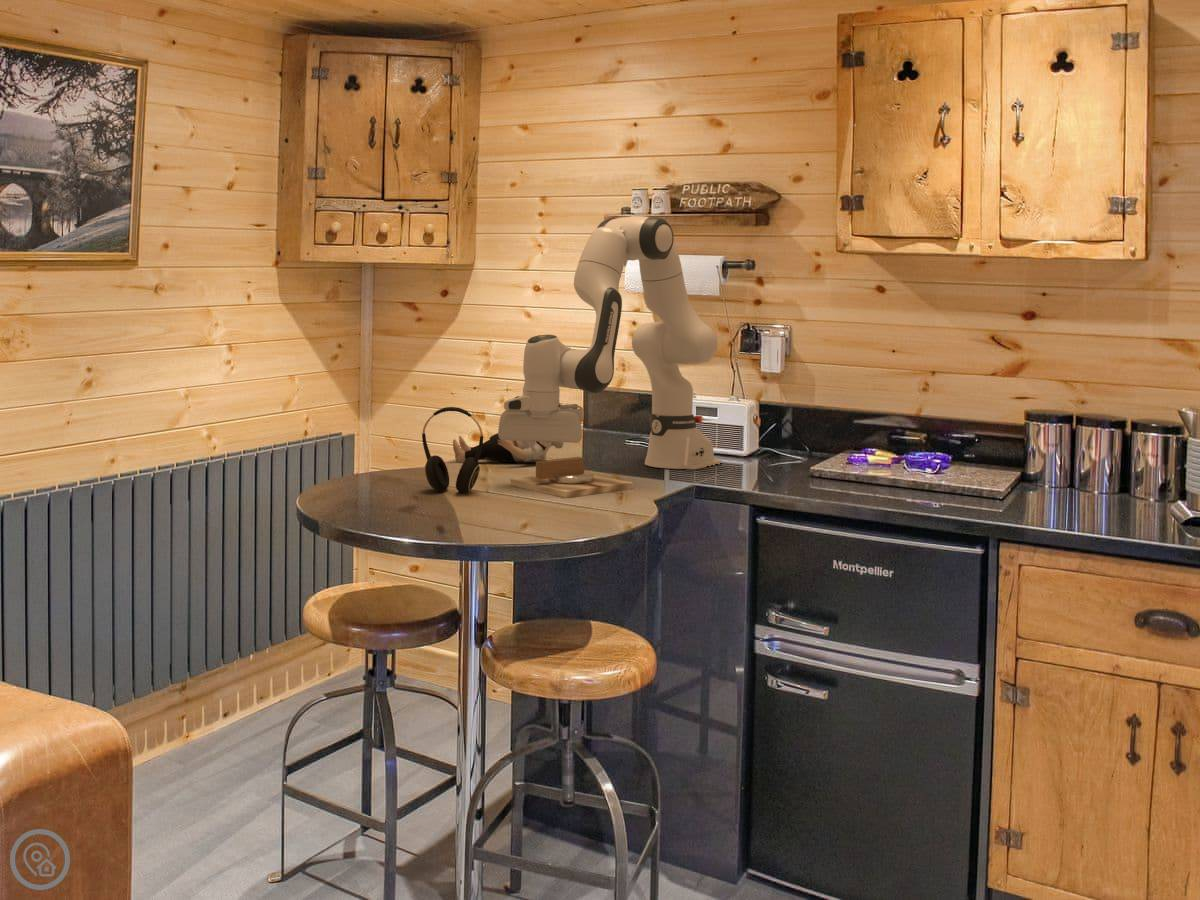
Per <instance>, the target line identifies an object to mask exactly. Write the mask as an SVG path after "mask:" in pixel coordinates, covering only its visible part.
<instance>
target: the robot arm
mask: <svg viewBox="0 0 1200 900" xmlns="http://www.w3.org/2000/svg"><path fill="white" fill-rule="evenodd" d="M678 251H679V250H678V249H677V246H676V244H675V241H674V232H673V228H672V226H671V225H670V223H669V222H668V221H667V220H666V219H664V218H662V217H658V216H644V215H632V216H625V217H622V216H621V217H611V218H608V219H605V220H603V221H601V222H600V223H599V225H598V226H597V227H596V228H595V229H594V230H593V231H592V232H591V234H590V236H589V238H588V240H587V241H586V244H585V246H584V248H583V250H582V251H581V254H580V256H579V261H578V263H577V266H576V269H575V272H574V277H573V278H574V279H573V287H574V290H575V292H576V294H577V295H578V297H579V298H580V299H581V300H582V301H583V302H585V303H586V304H587V305H589V306H590V307H592V308H593V309H594V311H595V317H596V318H595V323H594V329H593V333H592V334H593V335H592V340H591V344H590V346H589V347H588V348H587V349H575V348H571V347H569V346H568V345H565V344H564V343H563V342H561V341H560V340H559V337H558V336H557V335H554V334H540V335H534V336H532V337H530V338H529V339H528V340H527V341H526V344H525V348H524V353H523V365H522V367H523V369H522V370H523V371H522V372H523V376H524V383H523V388H522V395H520V396H519V395H517V396H515V397H513V398H509V399H507V400H505V401H504V402H503V408H504V411H503V412H502V413H501V415H500V416H499V417H500V418H499V421H498V429H497V430H498V432H497V433H498V436H499V438H500V439H501V440H515V441H529V446H530V448H531V450H532V452H533V453H534V460H538V461H543V460H547V452H548V451H549V449H550V448H551V447H552V446H551V442H563V443H571V444H572V443H574V444H575V443H580V442H581V440H582V439H583V425H582V423H583V421H584V417H585V411H584V408H583V407H582V406H580V405H578V404H576V403H571V404H570V403H560V388H568V389H572V390H579V391H585V392H589V393H592V394H597V393H601V392H603V391H604V390H605V389H606V388H608V386H609V385H610V383H611V382H612V381H613V377H614V374H615V373H614V372H615V352H616V346H617V339H618V335H619V330H620V329H619V328H620V324H621V323H620V322H621V317H622V309H623V298H622V295H621V293H620V292H619V290H620V289H619V285H620V280H621V278H622V274H623V270H624V266H625V262H626V261H636V260H637V261H638V263H639V264H638V265H639V266H638V267H639V273H640V280H641V283H642V290H643V294H644V300H645V301H644V302H645V305H646V307H647V308H648V309H649V310H650V311H651V312H652V313H654V314H655V315H656V316H658V318H660V320H661V321H653V322H649V323H648V322H647V323H642V324H641V325H638V326H637V327H636V329H635V330H634V332H633V334H632V337H631V348H632V350H633V353H634V355H635V356H636V357H637V358H638V360H640V361H641V362H642V363H643V365H644V368H645V369H646V370H647V375H648V377H649V379H650V380H649V381H650V385H651V413H650V417H649V427H650V433H649V438H648V439H649V440H648V445H647V453H646V457H645V460H644V465H645V466H648V467H653V468H660V469H671V470H672V469H674V470H675V469H676V470H677V469H679V470H681V469H683V470H684V469H685V470H698V469H704V468H707V466H709V467H712V466H711V465H713V466H716V465H715V464H718V465H721V464H720V463H722V464H723V461H722V459H719V458H716V457H715V454H714V445H713V443H712V442H713V441H711V440H710V439H709V438H708V437H707V436H706V435H705V434H703V432H702V431H701V430H700V429H698V427H697V423H698V424H702V423H703V422H704V417H703V415H699V414H698V415H697V414H696V415H695V416H694V413H693V401H694V389H693V385H692V383H691V382H690V381H689V380H688V379H686V378H685V377H684V376H683V375H682V373H681V371H680V368H679V365H692V366H694V365H700V364H705V363H708V362H710V361H712V360H713V359H714V357H715V356H716V354H717V351H718V346H719V342H718V337H717V335H716V333H715V330H714V329H713V328H711V327H710V326H709V325H707V324H706V323H705V322H704V321H703V320H702V319H701V318H700V317H699V315H698V314H697V312H696V311H695V310H694V307H693V305H692V304H691V301H690V299H689V296H688V291H687V289H686V284H685V278H684V275H683V273H684V272H683V266H682V263H681V259H680V255H679V252H678ZM536 441H543V442H544V446H547V447H546V449H545V450H544V452H537V450H536V449H535V447H534V446H535V445H536ZM550 446H551V447H550Z"/></svg>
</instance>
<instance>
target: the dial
mask: <svg viewBox="0 0 1200 900" xmlns="http://www.w3.org/2000/svg"><path fill="white" fill-rule="evenodd" d="M594 475H595V473H594V472H590V471H586V470H585V457H581V456H572V457H570V456H569V457H563V458H554V459H553V458H552V459H546V460H538V461H536V462H535V476H536V478H538V479H549V480H550V481H552V482H558V483H588V482H592V481H594Z"/></svg>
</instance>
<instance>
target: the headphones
mask: <svg viewBox="0 0 1200 900" xmlns="http://www.w3.org/2000/svg"><path fill="white" fill-rule="evenodd" d="M445 412H458V413H461V414H464V415H466V416H467V417H469V418H471V419H472V420H473V421H474V423H476V426H477V428H478V429H479V432H480V435H479V442H478V445H479V446H478V450H477V452H476V455H475V458H473V457H469V458H467V459H466V460H465V461H463V462H462V465H461V467H460V469H459V471H458V474H457V477H456V482H455V489H456V491H458V492H459V493H462V494H464V493H467V492H469V491H471V490H472V489H473V488H474V486H475V484H476V483H477V481H478V477H479V474H480V472H481V471H480V470H481V466H480V464H479V461H480V460H479V457H480V454H481V450H482V446H483V443H484V433H483V430H482V427H481V425H480V423H479V422H478V421H477V419H476V418H475V417H474V416H473V414H471V413H470V412H469V411H467V410H466V409H465V408H464V409H463V408H461V407H456V406H447V407H443V408H440V409H437V410H436V411H435V412H434V413H432V415H430V417H429V418H428V419H427V420H426V422H425V423H424V426H423V428H422V433H421V438H422V446H423V450H424V454H425V458H426V463H425V465H424V473H425V478H426V480H427V482H428V484H429V486H430V487H431V488H432V489H433V490H435V491H437V492H445V491H447V489H448V488H449V485H450V474H449V470H448V467H447V464H446V463H445V461H444V459H443V458H442V457H441V456H439V455H431V453H430V450H429V447H428V442H427V437H426V436H427V435H426V428H427V426H428V423H429V422H430V421H431V420H432V419H433V418H434V417H435V416H437V415H439V414H442V413H445Z"/></svg>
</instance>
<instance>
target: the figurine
mask: <svg viewBox="0 0 1200 900" xmlns="http://www.w3.org/2000/svg"><path fill="white" fill-rule="evenodd" d="M478 446H479V444H478V445H475V446H473V447H471V446H469V445H468V444H467V443H466V441H465V439H464V438H463V437H462V436H461V435H458V441H457V440H456V439H455V438H454V439H453V440H452V450H453V452H454V458H455V462H456V461H457V463H464V461H465V460H466V459H467V458H469V457H473V458H475V455H476V452H477V450H478ZM563 446H564V442H551V446H550V448H551V447H555V448H556V449H562V448H563ZM534 447H535V449H536V450H537V452H544V450H545V449H546V447H547V446H544V442H543V441H536V445H535V446H534ZM484 459H489V460H493V461H498V462H499V461H503V462H507V463H511V464H512V463H516V464H517V463H521V464H522V463H523V464H524V463H531V464H532V463H536V461H539V460H534V453H533V452H532V450H531V448H530V446H529V441H515V440H501V439H500V438H499V436H498V432H497V433H495V434H493V435H491V436H490V437H489V439H488V440H485V442H484V441H483V446H482V450H481V454H480V457H479V461H481V460H482V461H483V460H484Z"/></svg>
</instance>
